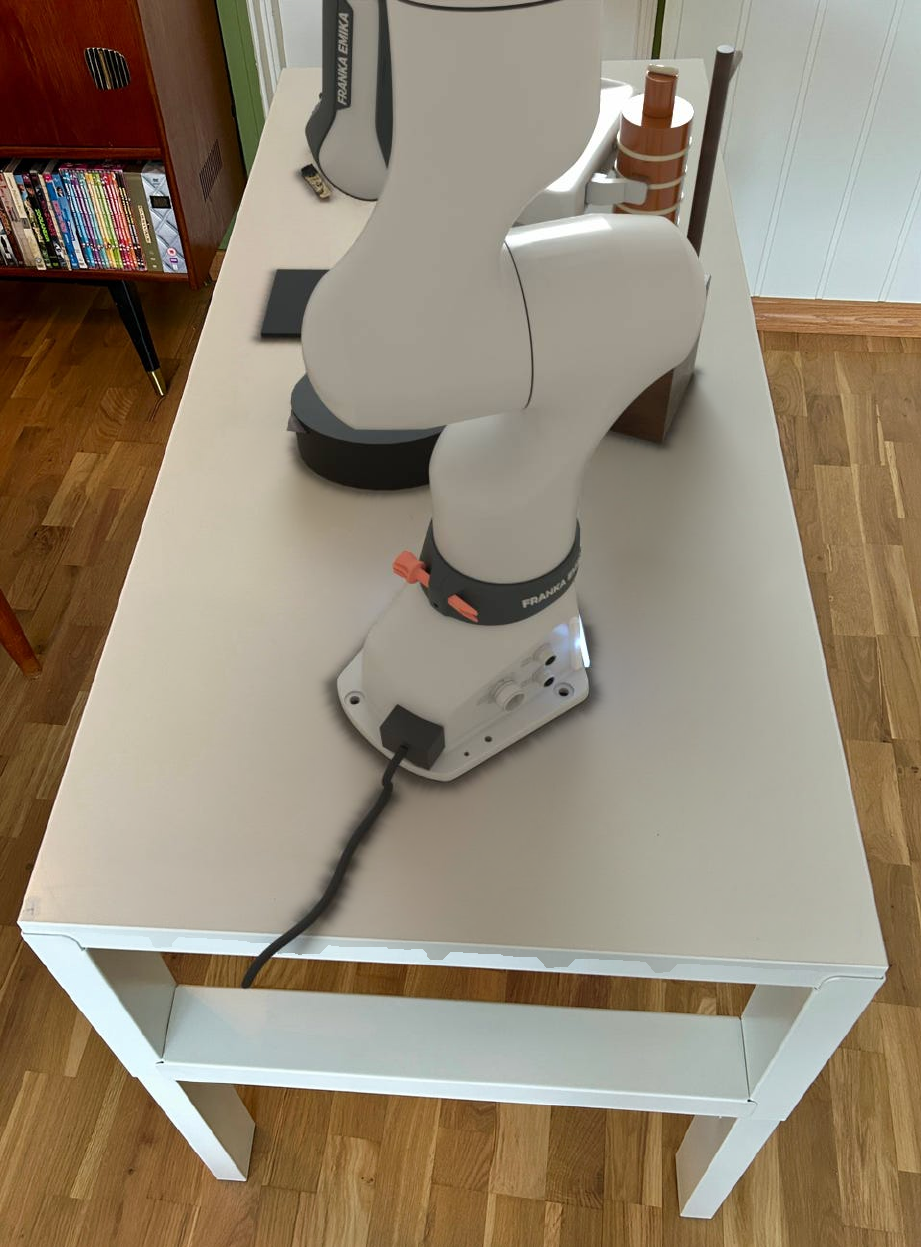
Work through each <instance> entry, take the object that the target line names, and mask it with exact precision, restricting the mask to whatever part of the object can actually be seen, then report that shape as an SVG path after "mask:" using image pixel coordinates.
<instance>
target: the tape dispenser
mask: <svg viewBox="0 0 921 1247" xmlns="http://www.w3.org/2000/svg"><path fill="white" fill-rule="evenodd" d="M291 391H292V392H291V393H290V408H291V409H290V415H289V418H288V421H287V427H286V432H291V433H292V432H293V433H295V437H296V441H297V446H298V451H299V455H300V458H301V459H302V461H303V463H304V464H305V465H306V467H307V468H309V469H310V470H311V471H313V472H314V473H315V474H316V475H318V476H320V477H322V478H324V479H325V480H327V481H330V482H332V483H335V484H338V485H340V486H343V487H349V488H354V489H358V490H367V491H368V490H369V491H399V490H407V489H415V488H418V487H422V486H423V487H424V486H428V485H430V479H429V464H430V459H431V456H432V452H433V450H434V447H435V445H436V442H437V440H438V438H439V436H440V435H441V433H442V431H443V430H444V428H445V427H446V426H447V425H443V426H438V427H433V428H429V429H414V430H360V429H353V428H352V427H350V426H348V425H347V424H345V423H344V422H343V421H341V420H340V419H339V418H337V417H336V416H335V415H334V414H333V413H332V412H331V411H330V410H329V409H328V408H327V407H326V405H325V404H324V403H323V402H322V401H321V399H320V398H319V396H318V395H317V393H316V392H315V390H314V388H313V386H312V384H311V382H310V379H309V377H308V374H307V372H306V371H305V373H304V374H303V376H302V377H301V378H300V379H298V381H297V382H296V383H295V385H294V387H293V389H292V390H291Z"/></svg>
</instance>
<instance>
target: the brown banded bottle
mask: <svg viewBox="0 0 921 1247" xmlns="http://www.w3.org/2000/svg"><path fill="white" fill-rule="evenodd" d="M646 70H647V71H646V72H645V79H644V87H643V88H644V89H643V93H642V94H641V95H638V96H635V97H632V98H630V99H629V100H627V101H626V102H625V103H624V104H623V106H622V109H621V119H620V129H619V132H618V134H617V145H618V150H617V158H616V160H615V163H614V170H613V172H614V173H615V179H616V178H629V176H630V175H631V174H635V175H639V176H640V177H642V176H645V177H648V178H649V179H650V188H649V189H650V190H649V194H648V196H647V198H646V200H645V202H644V203H643V204H641V205H637V204H632V203H627V202H623V203H617V204H612V211H611V213H610V214H636V215H653V216H662V217H665V218H667V219H668V220H670V221H671V222H672V223H673V224H674V225H676V226H677V227H678V228H679V226H680V221H681V220H680V219H681V218H680V210H681V205H682V203H683V201H684V196H685V194H684V185H685V178H686V177H687V174H688V168H689V166H688V157H689V150H690V149H691V148H692V142H693V136H692V131H693V126H694V125H693V124H694V118H695V110H694V106H693V105H692V104H691V103H690V102H689V101H688V100H686V99H684V98H683V97H679V96H677V89H678V83H679V82H678V81H679V73H680V72H679V69H678V68H677V67H672V66H666V65H661V64H654V63H649V64H648V65H647V66H646Z"/></svg>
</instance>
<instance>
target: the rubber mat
mask: <svg viewBox="0 0 921 1247" xmlns="http://www.w3.org/2000/svg"><path fill="white" fill-rule="evenodd" d="M329 270H330V269H319V268H318V269H316V268H315V269H309V268H307V269H305V268H304V269H303V268H277V269H276V272H275V276H274V279H273V284H272V287H271V291H270V295H269V299H268V303H267V306H266V311H265V315H264V318H263V322H262V326H261V330H260V337H261V338H293V339H295V338H299V339H301V333H302V323H303V317H304V314H305V310H306V306H307V304H308V301H309V299H310V296H311V294H312V292H313V291H314V289H315V287H316V285H317V284H318V282H319V281H320V279H321V278H322V277H323V276H324V275H325V274H326V273H327V272H328V271H329Z"/></svg>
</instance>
